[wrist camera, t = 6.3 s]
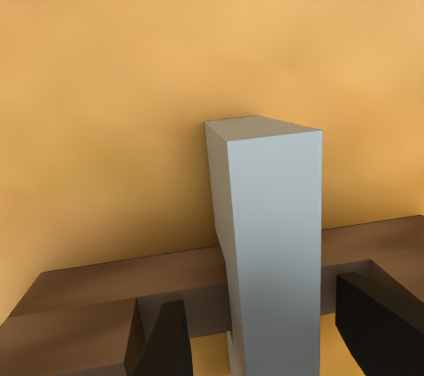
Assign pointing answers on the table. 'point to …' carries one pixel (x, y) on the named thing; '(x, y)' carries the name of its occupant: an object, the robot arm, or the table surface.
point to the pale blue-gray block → (269, 241)
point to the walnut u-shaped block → (177, 299)
